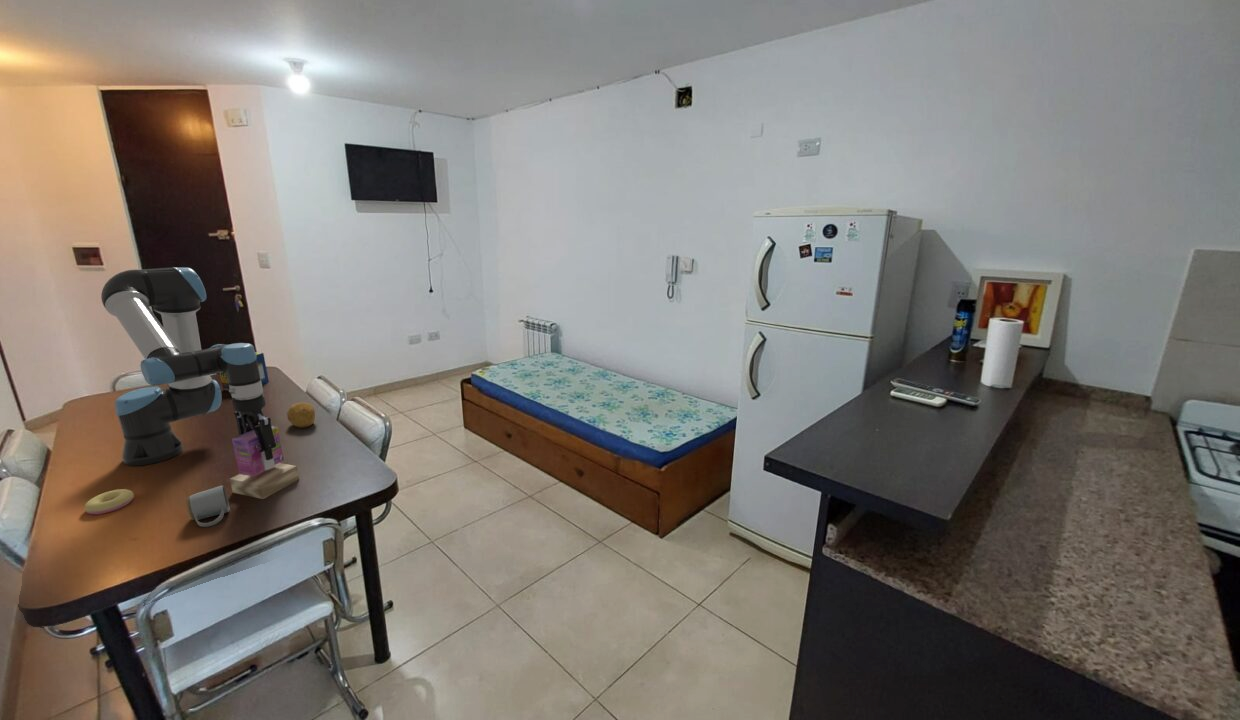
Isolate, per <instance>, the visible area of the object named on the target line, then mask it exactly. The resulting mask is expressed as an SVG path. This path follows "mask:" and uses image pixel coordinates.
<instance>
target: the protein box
mask: <svg viewBox="0 0 1240 720" xmlns="http://www.w3.org/2000/svg"><path fill="white" fill-rule="evenodd" d="M255 353H256V355H257V363H258V368H259V374H260V379H261V383H262V385H265V384H267V383H269V382H270V381H269V376H268V370H267V366H266V365H267V364H266V359H265V354H264V352H258V351H257V352H256V351H255ZM219 376H220V380H221V385H222V389H223V391H227V392H229V389H230V387H229V383H228V379H227V375H226V373H225V372H221V373H219Z"/></svg>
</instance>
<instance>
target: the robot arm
mask: <svg viewBox="0 0 1240 720" xmlns="http://www.w3.org/2000/svg"><path fill="white" fill-rule="evenodd" d="M100 295H101V303H102V305H103V307H104V309H105V311H107V313H109V314H110V315H111V316H113V317H116V319H117V320H118V321H119V323H120V325H122V327H123V329H124V330H125V331H126V333H127V335H128V336H129V337H130V339H131V341H132V342H133V344H134V345H135V347H136V348H137V349H138V351H139V353H141V356H142V357H143V358H144V359H142V360H141V361H140V363H139V364H140V365H139V366H140V371H141V373H142V376H143V378H144V380H145V382H146V383H147V384H149V386H148V387H141V388H137V389H133V390H131V391H129V392H126V393H123V394H121V395H120V396H118V398H117V399H115V402H114V408H115V414H116V415H117V418H118V422H119V425H120V428H121V431H122V435H123V438H124V444H123V448H122V455H121V459H122V461H123V464H124V465H126V466H131V467H133V466H134V467H136V466H139V467H140V466H145V465H151V464H155V463H160V462H164V461H166V460H168V459H171V458H173V457H176V456H178V455H180V454H181V453H182V452H183V451H184V446H183V442H182V441H181V440H180V438H179V437H178V436H177V435H176V434H175V432H174V431H173V430H172V426H171V423H173V422H176V421H182V420H186V419H190V418H192V417H197V416H200V415H203V416H204V415H206V414H209V413H212V412H216V410H218V409H219V408H220V407H221V404H222V399H223V398H222V396H223V395H222V391H221V387H220V385H219V383H218V381H217V380H216V379H213V378H212V377H211V376H212V375H215V374H216V375H217V374H220V373H221V372H225V373H226V375H227V379H228V383H229V387H230V389H229V391H228V392H229V393H230V396H231V398H232V407H233V411H235V412H233V414H234V417H235V419H236V426H237V432H238V433H237V434H238V436H240V435H242V434H244V433H246V432H249V431H252V430H254V431H255V434H256V436H258V439H259V443H260V446H261V448H262V450H260V452H261V456H262V461H263V466H264V470H269V469H271V468H273V467H275V463H274V458H273V453H272V448H275V447H276V443H275V439H274V435H273V431H272V427H271V426H272V422H271V420H272V419H271V417H270V416H268V417H265V415H264V413H263V411H262V409H263V408H265V406H266V404H267V403H266V399H265V394H264V389H263V384H262V383H261V379H260V374H259V368H258V363H257V355H256V353H255V352H256V350H255V347H254V345H253V344H251V343H247V342H246V343H245V342H237V343H236V342H235V343H231V344H224V343H221V344H220V343H217V344H214V345H212V346H210V347H209V348H205V349H202V345H201V340H200V332H199V331H200V330H199V325H198V321H197V319H198V318H197V315H196V313H197V312H198V311H199V310H200V309H201V303H202V302H205V301H206V300H207V292H206V288H205V286H204V283H203V281H202V280H201V278H200V276H199V275H198V274H197V272H196V271H195V270H194V269H192V268H191V267H175V266H173V267H158V268H147V269H146V268H145V269H128V270H124V271H121V272H119V273H116V274H114V275H113V276H112V277H110V278H109V279H108V280H107V281H106V282H105V284H104V286H103V287H102V291H101V294H100ZM151 307H153V310H151ZM153 311H154V312H156V313H158V314H160V316H161V320H162V324H161V322H160V320H159V319H158V318H157V316H156V315H155V313H154V312H153ZM150 385H151V386H150ZM157 385H158V386H157ZM161 385H168V388H165V389H162V388H160V387H159V386H161Z"/></svg>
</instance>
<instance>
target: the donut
mask: <svg viewBox="0 0 1240 720" xmlns="http://www.w3.org/2000/svg"><path fill="white" fill-rule="evenodd" d="M133 499H134V492H133V491H132V490H130V489H127V488H123V489H122V488H120V489H114V490H110V491H105V492H103V493H100V494H98V495H95V496H94V497H92V498H90V499H89V500H88V501H87V502H85V504H84V511H85V512H86V513H87V514H90V515H102V514H103V513H104V514H107V513H111V512H115V511H117V510H119V509H121V508H124V507H125V506H127V505H128V504H129V503H131V502H132V501H133Z"/></svg>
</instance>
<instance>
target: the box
mask: <svg viewBox="0 0 1240 720" xmlns="http://www.w3.org/2000/svg"><path fill="white" fill-rule="evenodd" d="M271 427H272V431H273V435H274V439H275V443H276V447H275V448H272V453H273V458H274V463H275V465H276V464H278V463H281V462H283V461H284V460H285V459H284V454H283V448H282V444H281V442H282V441H281V439H280V433H279V428H278V426H275V425H271ZM231 443H232V445H233V451H234V455H235V460H236V464H237V468H238V472H239V473H238V474H242V475H248V476H256V475H258V474H260V473H261V472H263V471H265V470H264V466H263V461H262V456H261V452H260V450H262V448H261V446H260V443H259V439H258V436H256V434H255V431H254V430H252V431H249V432H246V433H244V434H242V435H240V436H239V435H238V436H237V435H236V437H233V438H231Z"/></svg>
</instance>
